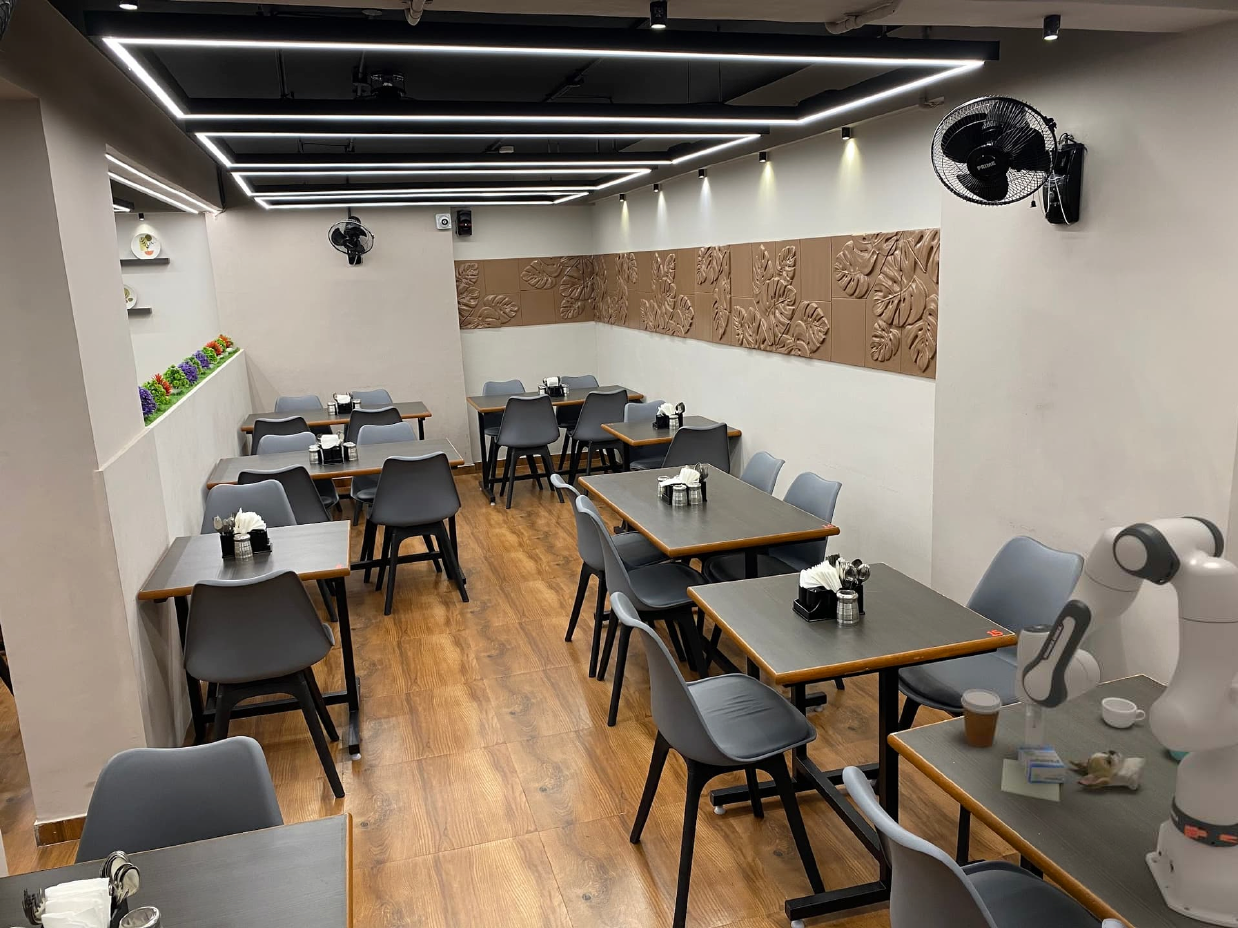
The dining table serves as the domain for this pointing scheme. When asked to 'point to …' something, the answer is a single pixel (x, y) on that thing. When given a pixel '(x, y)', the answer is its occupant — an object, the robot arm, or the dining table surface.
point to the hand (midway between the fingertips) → (1032, 743)
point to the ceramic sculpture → (1110, 770)
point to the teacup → (1120, 712)
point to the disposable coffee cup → (980, 716)
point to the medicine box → (1041, 765)
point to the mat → (1026, 783)
